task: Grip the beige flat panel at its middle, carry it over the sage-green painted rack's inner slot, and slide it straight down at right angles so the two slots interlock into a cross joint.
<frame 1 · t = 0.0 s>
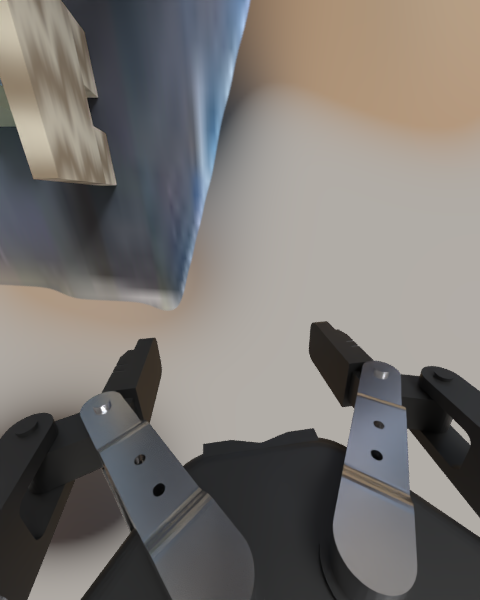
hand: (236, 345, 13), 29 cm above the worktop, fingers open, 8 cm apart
beige flat panel: (93, 116, 32), on the worktop
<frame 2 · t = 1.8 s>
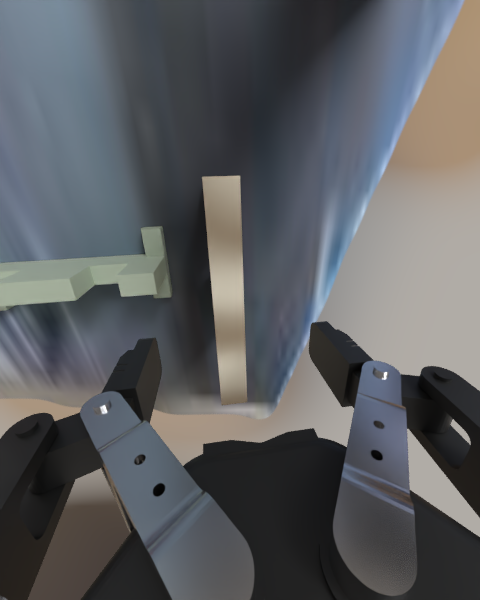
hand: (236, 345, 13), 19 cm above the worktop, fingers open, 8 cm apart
beige flat panel: (218, 257, 30), on the worktop
rack: (78, 266, 28), on the worktop
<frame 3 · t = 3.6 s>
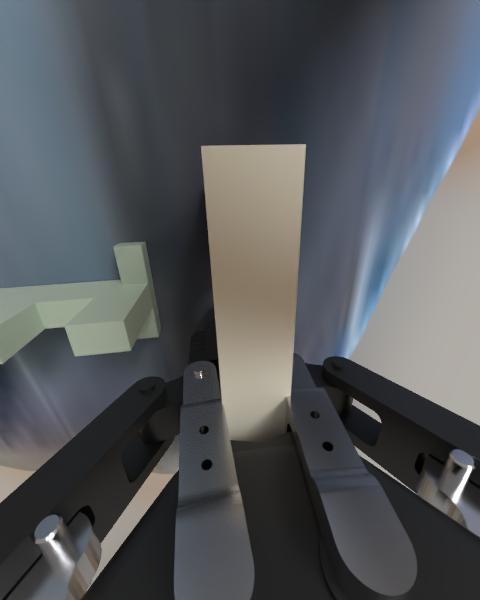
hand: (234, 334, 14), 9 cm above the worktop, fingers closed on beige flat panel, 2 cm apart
beige flat panel: (224, 284, 21), point 1 cm above the worktop, touching gripper
rack: (29, 297, 20), on the worktop
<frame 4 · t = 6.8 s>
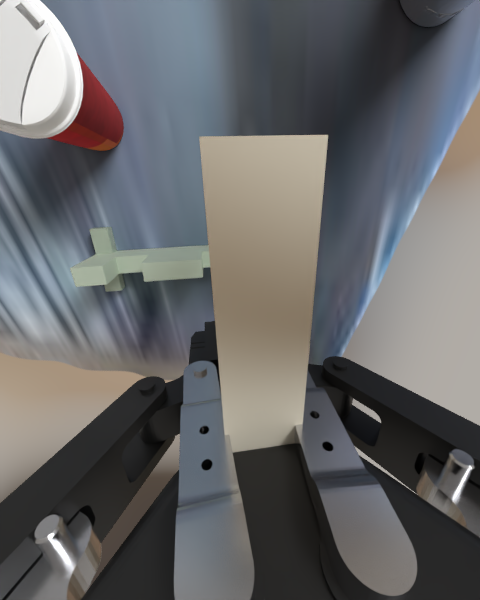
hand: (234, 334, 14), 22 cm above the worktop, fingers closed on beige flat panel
beige flat panel: (224, 288, 21), point 15 cm above the worktop, touching gripper
paper cup: (97, 122, 27), on the worktop
rack: (179, 254, 34), on the worktop
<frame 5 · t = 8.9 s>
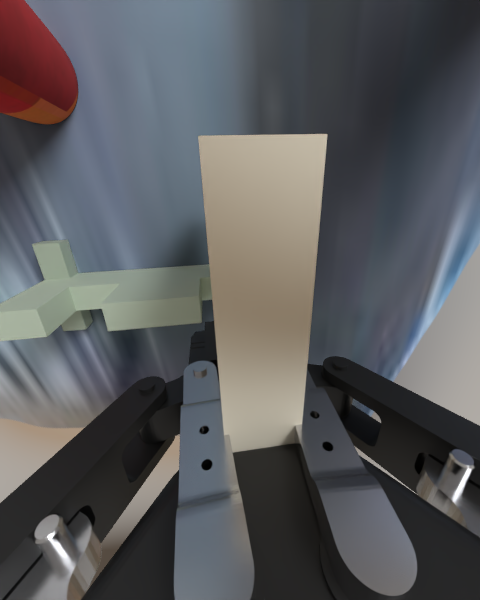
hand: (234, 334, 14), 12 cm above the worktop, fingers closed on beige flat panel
beige flat panel: (225, 288, 21), point 4 cm above the worktop, touching gripper
paper cup: (36, 79, 17), on the worktop
rack: (169, 277, 24), on the worktop
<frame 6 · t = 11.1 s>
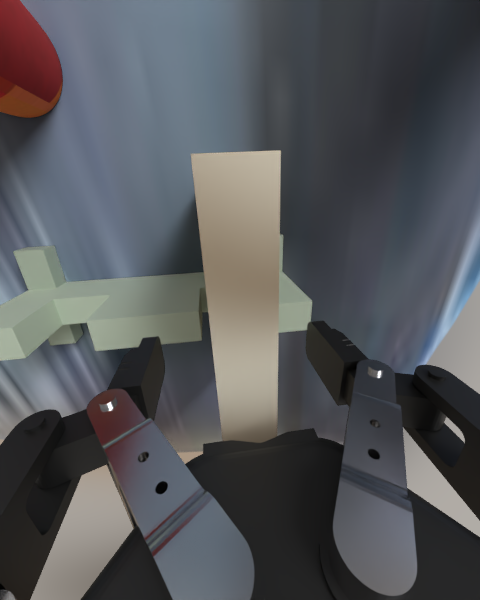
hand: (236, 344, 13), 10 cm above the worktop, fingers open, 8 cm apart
beige flat panel: (222, 281, 22), on the worktop, touching rack
paper cup: (14, 66, 15), on the worktop
rack: (166, 285, 22), on the worktop
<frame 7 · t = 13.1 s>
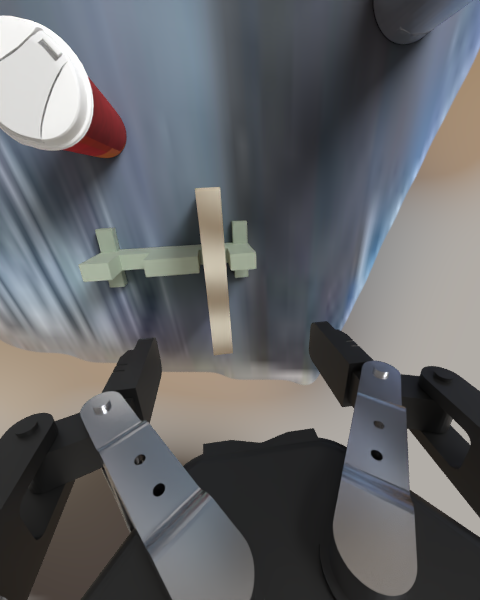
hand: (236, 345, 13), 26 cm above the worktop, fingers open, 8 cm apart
beige flat panel: (212, 250, 37), on the worktop, touching rack
paper cup: (102, 132, 30), on the worktop
rack: (178, 252, 36), on the worktop
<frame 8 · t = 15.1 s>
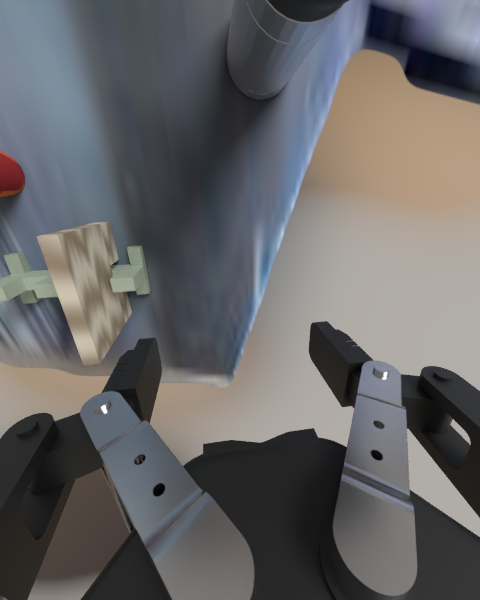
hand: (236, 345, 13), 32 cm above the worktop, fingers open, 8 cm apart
beige flat panel: (115, 270, 42), on the worktop, touching rack
paper cup: (3, 174, 35), on the worktop
rack: (84, 273, 41), on the worktop
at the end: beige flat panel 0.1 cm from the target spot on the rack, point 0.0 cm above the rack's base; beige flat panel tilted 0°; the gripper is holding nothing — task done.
